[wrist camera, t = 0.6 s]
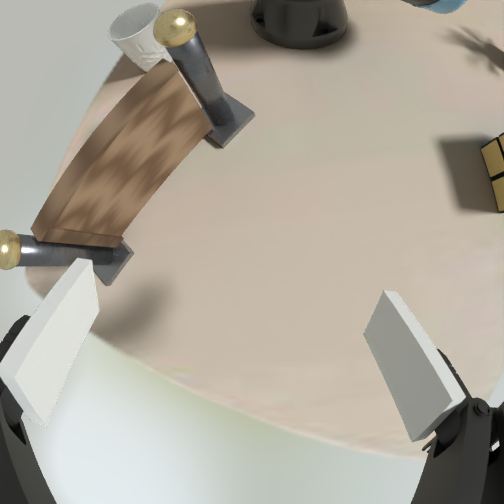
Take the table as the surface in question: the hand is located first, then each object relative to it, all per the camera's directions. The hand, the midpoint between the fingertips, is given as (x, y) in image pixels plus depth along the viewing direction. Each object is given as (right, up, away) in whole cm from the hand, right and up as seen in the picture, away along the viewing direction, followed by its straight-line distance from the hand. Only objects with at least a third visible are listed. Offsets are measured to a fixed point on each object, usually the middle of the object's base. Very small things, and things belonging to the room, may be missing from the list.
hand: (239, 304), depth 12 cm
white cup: (-15, +33, +25) cm, 45 cm away
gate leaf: (-11, +11, +23) cm, 28 cm away
